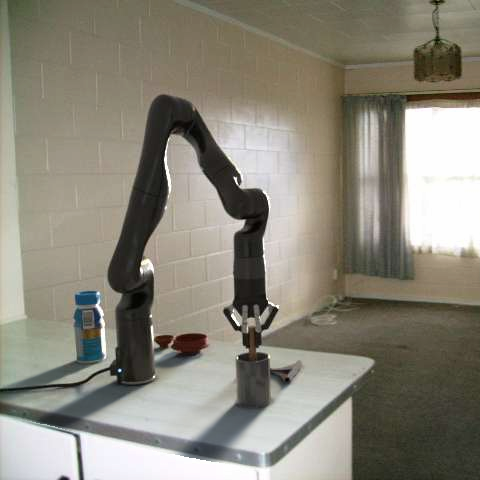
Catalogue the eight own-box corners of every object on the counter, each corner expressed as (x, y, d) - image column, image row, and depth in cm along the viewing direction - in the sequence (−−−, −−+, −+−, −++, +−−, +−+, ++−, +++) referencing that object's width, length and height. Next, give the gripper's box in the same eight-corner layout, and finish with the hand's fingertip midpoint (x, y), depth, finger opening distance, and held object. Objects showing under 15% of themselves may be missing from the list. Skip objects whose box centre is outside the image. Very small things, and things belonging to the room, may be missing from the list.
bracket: (250, 364, 179) (250, 354, 179) (302, 366, 177) (302, 356, 176) (234, 381, 165) (234, 371, 165) (290, 384, 163) (290, 373, 162)
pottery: (192, 359, 184) (191, 345, 184) (142, 350, 195) (142, 336, 194) (218, 349, 194) (217, 335, 194) (169, 341, 205) (169, 327, 204)
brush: (246, 395, 149) (243, 328, 147) (246, 390, 152) (244, 325, 150) (261, 394, 149) (259, 328, 147) (261, 389, 153) (259, 324, 151)
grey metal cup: (236, 409, 147) (234, 362, 145) (237, 396, 155) (236, 352, 153) (271, 407, 147) (269, 361, 146) (270, 394, 155) (269, 351, 154)
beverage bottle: (69, 362, 184) (64, 294, 182) (90, 354, 192) (86, 289, 189) (92, 365, 181) (88, 296, 178) (112, 356, 189) (108, 290, 186)
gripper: (279, 271, 152) (281, 341, 154) (221, 273, 150) (223, 344, 152) (279, 276, 144) (282, 350, 146) (218, 278, 143) (221, 353, 145)
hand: (252, 347), depth 149 cm, fingers closed on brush, 2 cm apart
